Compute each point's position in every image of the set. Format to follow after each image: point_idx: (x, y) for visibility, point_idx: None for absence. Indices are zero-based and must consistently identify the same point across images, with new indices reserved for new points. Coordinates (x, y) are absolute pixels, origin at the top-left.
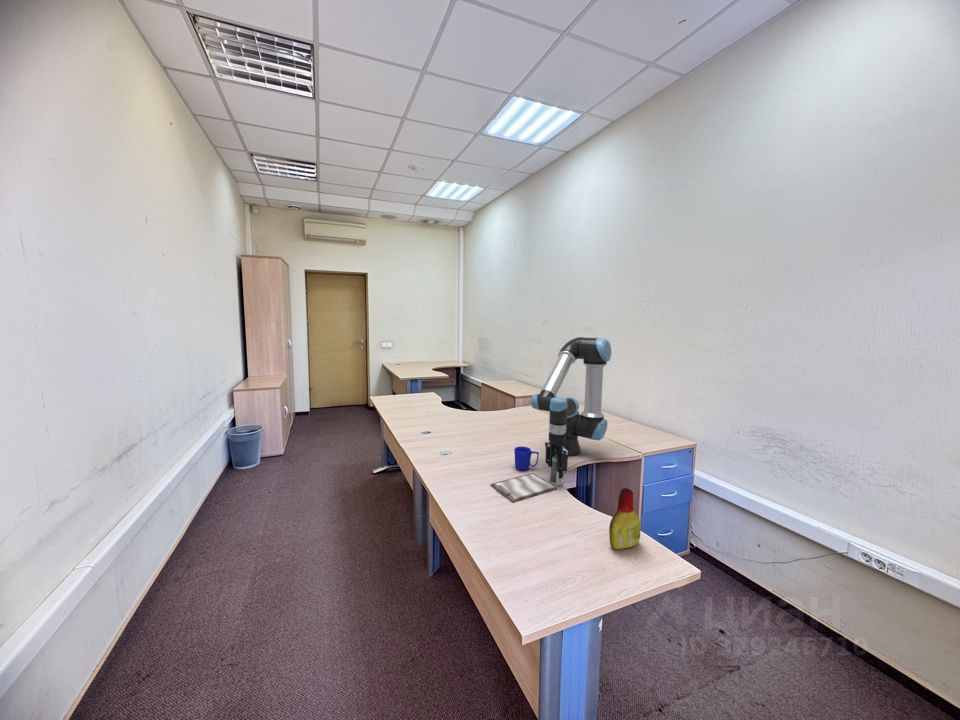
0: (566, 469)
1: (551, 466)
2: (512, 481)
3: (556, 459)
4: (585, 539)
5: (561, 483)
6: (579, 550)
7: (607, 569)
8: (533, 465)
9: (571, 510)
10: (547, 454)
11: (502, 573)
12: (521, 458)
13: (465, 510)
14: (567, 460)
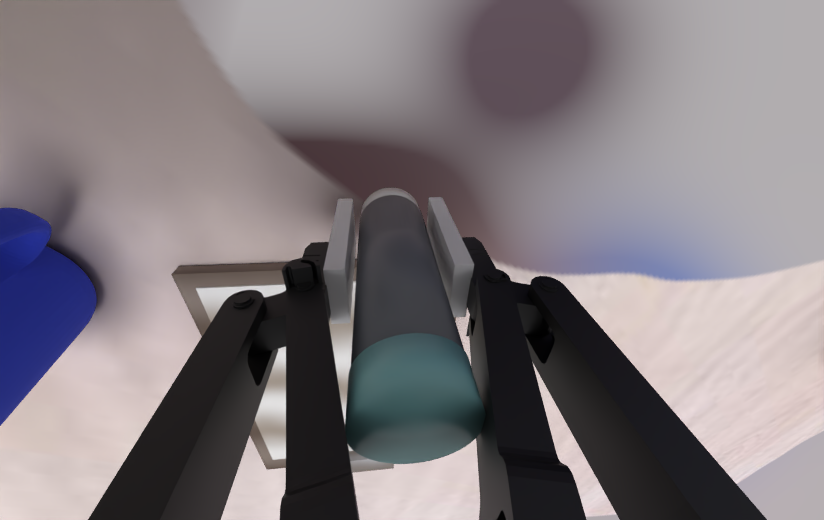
0: (565, 297)
1: (329, 301)
2: (275, 410)
3: (460, 437)
4: (740, 377)
5: (442, 202)
6: (732, 408)
7: (815, 397)
8: (31, 234)
9: (638, 322)
10: (236, 468)
11: (612, 506)
12: (9, 414)
13: (394, 517)
14: (660, 402)
